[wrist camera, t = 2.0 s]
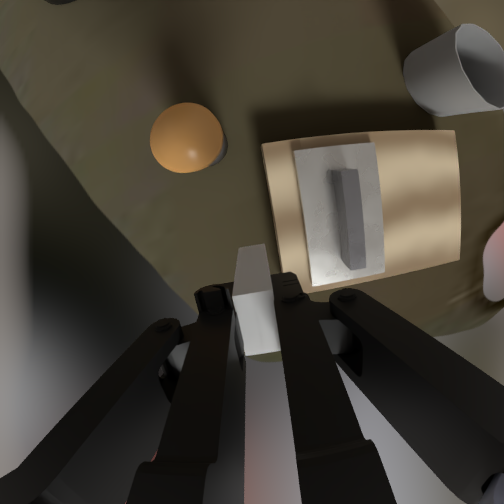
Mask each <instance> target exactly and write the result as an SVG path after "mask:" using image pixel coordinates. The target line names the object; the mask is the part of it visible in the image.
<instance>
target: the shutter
mask: <svg viewBox="0 0 504 504" xmlns="http://www.w3.org/2000/svg"><path fill="white" fill-rule="evenodd" d="M293 157H294V163H295V169H296V175H297V182H298V188H299V195H300V201H301V208H302V215H303V222H304V230H305V237H306V245H307V253H308V261H309V270H310V279H311V284H312V286H313V287H314V286H320V285H325V284H330V283H335V282H340V281H345V280H350V279H355V278H360V277H365V276H370V275H375V274H379V273H384V272H385V252H384V229H383V214H382V201H381V190H380V181H379V172H378V164H377V156H376V149H375V143H374V142H372V143H359V144H348V145H337V146H328V147H319V148H311V149H303V150H295V151H293Z"/></svg>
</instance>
